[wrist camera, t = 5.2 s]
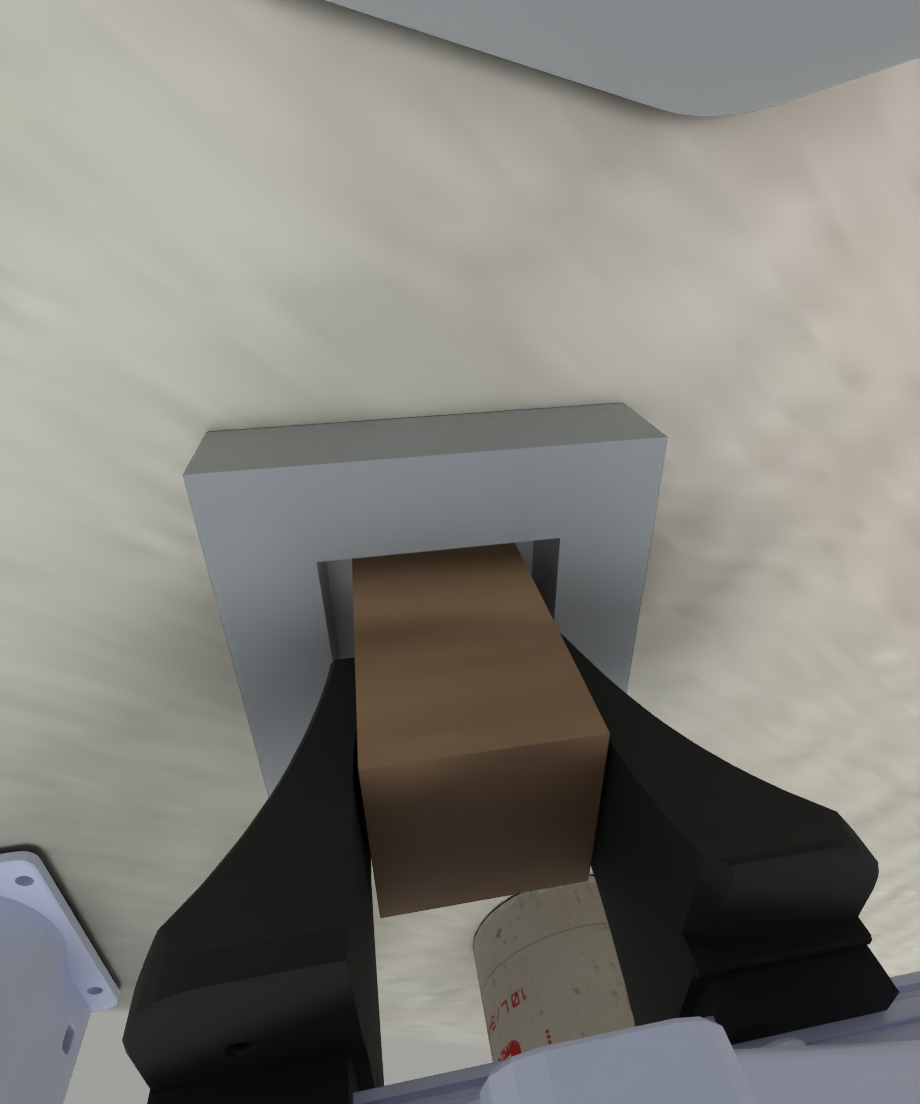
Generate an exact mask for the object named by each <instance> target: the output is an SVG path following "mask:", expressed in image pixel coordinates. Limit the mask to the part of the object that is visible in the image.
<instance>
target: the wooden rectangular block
mask: <svg viewBox="0 0 920 1104" xmlns="http://www.w3.org/2000/svg"><path fill="white" fill-rule="evenodd" d="M352 581H353V614H354V646H355V679H356V712H357V745H358V771H359V778H360V785H361V792H362V798H363V805H364V812H365V818H366V825H367V832H368V839H369V845H370V852H371V859H372V866H373V872H374V879H375V886H376V892H377V899H378V906H379V913H380V918H384V917H389V916H395V915H401V914H406V913H412V912H418V911H423V910H429V909H434V908H440V907H446V906H451V905H457V904H462V903H468V902H474V901H479V900H485V899H491V898H496V897H502V896H507V895H513V894H519V893H524V892H530V891H535V890H541V889H547V888H552V887H558V886H564V885H569V884H575V883H580V882H586V881H588V879H589V872H590V865H591V858H592V852H593V845H594V838H595V831H596V825H597V818H598V811H599V804H600V797H601V791H602V784H603V777H604V770H605V764H606V757H607V750H608V743H609V736H610V733H609V730H608V728H607V726H606V724H605V722H604V720H603V718H602V716H601V714H600V712H599V710H598V708H597V706H596V704H595V702H594V700H593V698H592V696H591V694H590V692H589V690H588V688H587V686H586V684H585V682H584V680H583V678H582V676H581V674H580V672H579V670H578V668H577V666H576V664H575V662H574V660H573V658H572V656H571V654H570V652H569V650H568V648H567V646H566V644H565V642H564V640H563V638H562V636H561V634H560V632H559V630H558V628H557V626H556V624H555V622H554V620H553V618H552V616H551V614H550V612H549V610H548V608H547V606H546V604H545V602H544V600H543V598H542V596H541V594H540V592H539V590H538V588H537V586H536V584H535V582H534V580H533V578H532V576H531V574H530V572H529V570H528V568H527V566H526V564H525V562H524V560H523V558H522V556H521V554H520V552H519V550H518V548H517V546H516V544H515V543H504V544H494V545H484V546H474V547H464V548H454V549H444V550H434V551H424V552H414V553H404V554H394V555H384V556H373V557H363V558H353V559H352Z"/></svg>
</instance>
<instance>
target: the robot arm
mask: <svg viewBox="0 0 920 1104" xmlns="http://www.w3.org/2000/svg"><path fill="white" fill-rule="evenodd" d="M560 634H561V633H560ZM561 636H562V638H563V640H564V642H565V644H566V646H567V648H568V650H569V652H570V654H571V656H572V658H573V660H574V662H575V664H576V666H577V668H578V670H579V672H580V674H581V676H582V678H583V680H584V682H585V684H586V686H587V688H588V690H589V692H590V694H591V696H592V698H593V700H594V702H595V704H596V706H597V708H598V710H599V712H600V714H601V716H602V718H603V720H604V722H605V724H606V726H607V728H608V730H609V733H610V736H609V743H608V750H607V757H606V764H605V770H604V777H603V784H602V791H601V797H600V804H599V811H598V818H597V825H596V831H595V838H594V845H593V852H592V858H591V867H592V871H593V874H594V877H595V880H596V884H597V887H598V890H599V894H600V897H601V901H602V904H603V907H604V911H605V914H606V918H607V921H608V925H609V928H610V932H611V935H612V939H613V943H614V946H615V950H616V954H617V957H618V961H619V965H620V968H621V972H622V976H623V979H624V983H625V987H626V991H627V995H628V999H629V1003H630V1007H631V1010H632V1014H633V1018H634V1022H635V1026H636V1027H631V1028H627V1029H622V1030H617V1031H613V1032H608V1033H603V1034H599V1035H594V1036H589V1037H585V1038H580V1039H575V1040H570V1041H566V1042H561V1043H556V1044H552V1045H547V1046H542V1047H539V1048H536V1049H533V1050H530V1051H527V1052H524V1053H521V1054H518V1055H515V1056H513V1057H511V1058H510V1059H508V1060H503V1061H498V1062H494V1063H490V1064H485V1065H480V1066H476V1067H471V1068H466V1069H461V1070H457V1071H452V1072H448V1073H443V1074H438V1075H434V1076H429V1077H424V1078H420V1079H415V1080H410V1081H405V1082H401V1083H396V1084H392V1085H387V1086H384V1077H383V1063H382V1048H381V1033H380V1018H379V1002H378V987H377V971H376V955H375V938H374V921H373V904H372V887H371V852H370V845H369V839H368V832H367V825H366V818H365V812H364V805H363V798H362V792H361V785H360V778H359V771H358V745H357V712H356V679H355V657H352V658H344V659H336V660H334V661H333V662H332V663H331V664H330V669H329V673H328V677H327V680H326V683H325V686H324V689H323V692H322V695H321V697H320V700H319V703H318V705H317V708H316V710H315V712H314V714H313V717H312V719H311V721H310V724H309V726H308V728H307V730H306V732H305V735H304V737H303V739H302V740H301V742H300V744H299V746H298V748H297V750H296V752H295V754H294V756H293V758H292V760H291V762H290V763H289V765H288V767H287V769H286V771H285V772H284V774H283V776H282V777H281V779H280V781H279V782H278V784H277V786H276V787H275V789H274V790H273V792H272V794H271V795H270V797H269V798H268V800H267V801H266V803H265V804H264V806H263V807H262V809H261V810H260V811H259V813H258V814H257V816H256V817H255V819H254V820H253V821H252V823H251V824H250V826H249V827H248V828H247V830H246V831H245V832H244V834H243V835H242V836H241V838H240V839H239V840H238V842H237V843H236V844H235V845H234V847H233V848H232V849H231V850H230V851H229V853H228V854H227V855H226V856H225V857H224V859H223V860H222V861H221V862H220V863H219V865H218V866H217V867H216V868H215V869H214V871H213V872H212V873H211V874H210V876H209V877H208V878H207V879H206V880H205V881H204V882H203V884H202V885H201V886H200V887H199V888H198V889H197V890H196V891H195V892H194V893H193V894H192V895H191V896H190V897H189V898H188V900H187V901H186V902H185V903H184V904H183V905H182V906H181V907H180V908H179V909H178V910H177V911H176V912H175V913H174V914H173V915H172V916H171V917H170V918H169V919H168V920H167V921H166V922H165V923H164V924H163V925H162V926H161V927H160V928H159V930H158V931H157V933H156V935H155V938H154V940H153V942H152V945H151V947H150V949H149V952H148V954H147V956H146V959H145V962H144V964H143V967H142V970H141V972H140V975H139V978H138V981H137V984H136V987H135V990H134V994H133V998H132V1002H131V1007H130V1011H129V1015H128V1019H127V1023H126V1027H125V1031H124V1035H123V1039H122V1041H123V1044H124V1047H125V1050H126V1053H127V1054H128V1056H129V1057H130V1059H131V1060H132V1062H133V1063H134V1065H135V1067H136V1068H137V1070H138V1071H139V1073H140V1074H141V1076H142V1077H143V1079H144V1080H145V1082H146V1083H147V1085H148V1086H149V1088H150V1093H149V1098H148V1103H147V1104H920V971H918V972H913V973H909V974H904V975H899V976H895V977H889V976H888V975H887V973H886V972H885V970H884V969H883V967H882V966H881V965H880V963H879V962H878V960H877V959H876V957H875V956H874V954H873V953H872V952H871V950H870V949H869V947H868V946H867V944H870V942H871V941H872V938H871V934H870V933H869V931H868V930H867V929H866V927H865V926H864V924H863V923H862V922H861V920H860V919H859V917H858V916H859V914H860V912H861V910H862V908H863V907H864V905H865V903H866V901H867V899H868V898H869V896H870V894H871V892H872V890H873V889H874V886H875V884H876V881H877V878H878V873H879V870H878V862H877V860H876V859H875V858H874V856H873V855H872V854H871V852H870V851H869V850H868V848H867V847H866V846H865V845H864V843H863V842H862V841H861V839H860V838H859V837H858V836H857V834H856V833H855V832H854V830H853V829H852V828H851V827H850V826H849V825H848V824H847V822H846V821H845V820H844V819H843V818H842V817H841V816H840V815H839V814H838V812H836V811H834V810H831V809H829V808H826V807H824V806H821V805H819V804H816V803H814V802H811V801H809V800H807V799H804V798H802V797H799V796H797V795H794V794H792V793H789V792H787V791H785V790H782V789H780V788H778V787H776V786H774V785H772V784H770V783H767V782H765V781H763V780H761V779H759V778H757V777H755V776H753V775H751V774H749V773H747V772H745V771H743V770H741V769H739V768H737V767H735V766H733V765H731V764H730V763H728V762H726V761H724V760H723V759H721V758H719V757H717V756H716V755H714V754H712V753H710V752H708V751H707V750H705V749H703V748H702V747H700V746H698V745H697V744H695V743H694V742H692V741H690V740H689V739H687V738H686V737H684V736H683V735H681V734H680V733H678V732H677V731H675V730H674V729H672V728H671V727H669V726H668V725H666V724H665V723H663V722H662V721H661V720H659V719H658V718H657V717H655V716H654V715H652V714H651V713H650V712H649V711H647V710H646V709H645V708H644V707H642V706H641V705H640V704H638V703H637V702H636V701H635V700H633V699H632V698H631V697H630V696H629V695H627V694H626V693H625V692H624V691H623V690H622V689H620V688H619V687H618V686H617V685H616V684H615V683H614V682H612V681H611V680H610V679H609V678H608V677H607V676H606V675H605V674H603V673H602V672H601V671H600V670H599V669H598V668H597V667H596V666H595V665H594V664H593V663H592V662H591V661H590V660H588V659H587V658H586V657H585V656H584V655H583V654H582V653H581V652H580V651H579V650H578V649H577V648H576V647H575V646H574V645H573V644H572V643H571V642H570V641H569V640H568V639H567V638H566V637H565V636H563V635H562V634H561ZM119 996H120V991H119V989H118V987H117V986H116V984H115V982H114V981H113V979H112V977H111V976H110V974H109V972H108V971H107V969H106V967H105V966H104V964H103V962H102V961H101V959H100V957H99V956H98V954H97V952H96V951H95V949H94V947H93V946H92V944H91V942H90V941H89V939H88V937H87V936H86V934H85V932H84V931H83V929H82V927H81V926H80V924H79V922H78V921H77V919H76V917H75V916H74V914H73V912H72V911H71V909H70V907H69V906H68V904H67V902H66V901H65V899H64V897H63V896H62V894H61V892H60V891H59V889H58V887H57V886H56V884H55V882H54V881H53V879H52V877H51V876H50V874H49V872H48V871H47V869H46V867H45V866H44V864H43V862H42V861H41V859H40V858H39V857H38V856H37V855H36V854H34V853H32V852H28V851H17V852H10V853H3V854H0V1104H63V1102H64V1099H65V1095H66V1092H67V1089H68V1085H69V1082H70V1079H71V1076H72V1072H73V1069H74V1066H75V1063H76V1059H77V1056H78V1053H79V1049H80V1046H81V1043H82V1040H83V1036H84V1033H85V1030H86V1026H87V1023H88V1020H89V1017H90V1013H91V1012H96V1011H101V1010H107V1009H110V1008H112V1007H114V1006H115V1005H116V1004H117V1003H118V1000H119Z"/></svg>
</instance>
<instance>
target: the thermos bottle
mask: <svg viewBox="0 0 920 1104" xmlns="http://www.w3.org/2000/svg"><path fill="white" fill-rule="evenodd" d="M473 951H474V957H475V963H476V968H477V974H478V980H479V985H480V991H481V997H482V1003H483V1008H484V1014H485V1020H486V1026H487V1031H488V1037H489V1043H490V1048H491V1054H492V1059H493V1063H494V1062H498V1061H503V1060H508V1059H510V1058H511V1057H513V1056H515V1055H518V1054H521V1053H524V1052H527V1051H530V1050H533V1049H536V1048H539V1047H542V1046H547V1045H552V1044H556V1043H561V1042H566V1041H570V1040H575V1039H580V1038H585V1037H589V1036H594V1035H599V1034H603V1033H608V1032H613V1031H617V1030H622V1029H627V1028H631V1027H636V1026H635V1022H634V1018H633V1014H632V1010H631V1007H630V1003H629V999H628V995H627V991H626V987H625V983H624V979H623V976H622V972H621V968H620V965H619V961H618V957H617V954H616V950H615V946H614V943H613V939H612V935H611V932H610V928H609V925H608V921H607V918H606V914H605V911H604V907H603V904H602V901H601V897H600V894H599V890H598V887H597V884H596V880H595V877H594V876H589V879H588V881H586V882H580V883H575V884H569V885H564V886H558V887H552V888H547V889H541V890H535V891H530V892H524V893H520V894H518V895H516V896H514V897H513V898H511V899H510V900H508V901H507V902H505V903H503V904H502V905H500V906H499V907H498V908H497V909H496V910H495V911H493V912H492V913H491V914H490V915H489V916H488V917H487V918H486V920H485V921H484V922H483V923H482V925H481V926H480V928H479V930H478V932H477V934H476V936H475V940H474V947H473Z"/></svg>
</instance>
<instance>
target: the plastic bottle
mask: <svg viewBox="0 0 920 1104" xmlns="http://www.w3.org/2000/svg"><path fill="white" fill-rule="evenodd" d="M325 1H328V2H331V3H334V4H337V5H340V6H344V7H347V8H350V9H353V10H356V11H359V12H362V13H365V14H368V15H371V16H374V17H377V18H380V19H384V20H387V21H390V22H393V23H396V24H399V25H402V26H405V27H408V28H411V29H414V30H417V31H420V32H424V33H427V34H430V35H433V36H436V37H439V38H442V39H445V40H448V41H451V42H454V43H457V44H460V45H464V46H467V47H470V48H473V49H476V50H479V51H482V52H485V53H488V54H491V55H494V56H497V57H500V58H504V59H507V60H510V61H513V62H516V63H519V64H522V65H525V66H528V67H531V68H534V69H537V70H540V71H544V72H547V73H550V74H553V75H556V76H559V77H562V78H565V79H568V80H571V81H574V82H577V83H580V84H584V85H587V86H590V87H593V88H596V89H599V90H602V91H605V92H608V93H611V94H614V95H617V96H620V97H624V98H627V99H630V100H633V101H636V102H639V103H642V104H645V105H648V106H651V107H654V108H657V109H661V110H665V111H669V112H672V113H676V114H682V115H690V116H699V117H705V116H729V115H736V114H743V113H748V112H752V111H756V110H760V109H764V108H768V107H771V106H774V105H777V104H780V103H783V102H786V101H789V100H792V99H795V98H798V97H801V96H804V95H807V94H810V93H813V92H816V91H819V90H822V89H825V88H828V87H831V86H834V85H837V84H840V83H843V82H846V81H849V80H852V79H855V78H858V77H861V76H864V75H867V74H870V73H873V72H876V71H879V70H882V69H885V68H888V67H891V66H895V65H898V64H901V63H904V62H907V61H910V60H913V59H916V58H919V57H920V0H325Z"/></svg>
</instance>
